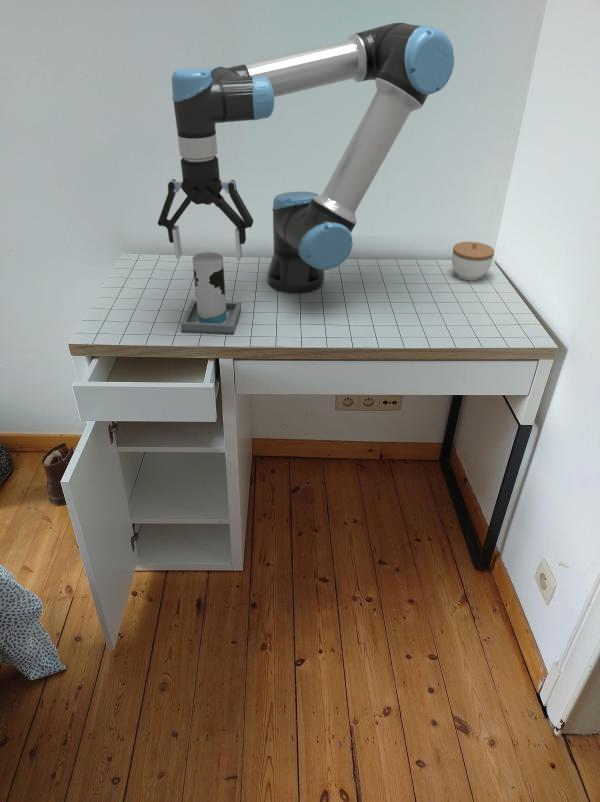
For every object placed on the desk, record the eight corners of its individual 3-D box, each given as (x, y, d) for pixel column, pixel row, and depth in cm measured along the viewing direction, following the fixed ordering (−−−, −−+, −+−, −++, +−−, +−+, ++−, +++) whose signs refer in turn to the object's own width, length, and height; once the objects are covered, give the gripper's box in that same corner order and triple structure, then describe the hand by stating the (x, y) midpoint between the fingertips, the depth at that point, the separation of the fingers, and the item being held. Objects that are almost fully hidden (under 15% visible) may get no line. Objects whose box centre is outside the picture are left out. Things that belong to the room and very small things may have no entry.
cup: (232, 316, 144) (229, 256, 135) (213, 328, 139) (208, 266, 130) (211, 309, 147) (206, 250, 138) (192, 319, 142) (185, 259, 134)
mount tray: (241, 310, 148) (241, 302, 147) (233, 334, 138) (233, 326, 137) (192, 308, 149) (192, 300, 147) (181, 332, 139) (180, 323, 138)
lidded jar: (477, 287, 160) (484, 254, 155) (441, 276, 166) (446, 243, 160) (495, 275, 167) (502, 242, 161) (460, 264, 172) (466, 232, 167)
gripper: (262, 152, 124) (267, 251, 137) (143, 151, 125) (158, 249, 138) (258, 162, 118) (263, 264, 131) (132, 161, 119) (149, 262, 132)
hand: (209, 256), depth 134 cm, fingers open, 13 cm apart
